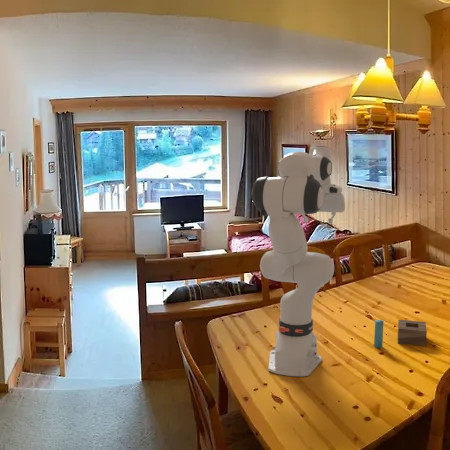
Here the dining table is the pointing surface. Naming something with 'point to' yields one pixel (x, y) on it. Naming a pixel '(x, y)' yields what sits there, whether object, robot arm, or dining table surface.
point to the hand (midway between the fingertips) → (318, 222)
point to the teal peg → (378, 334)
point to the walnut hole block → (412, 332)
